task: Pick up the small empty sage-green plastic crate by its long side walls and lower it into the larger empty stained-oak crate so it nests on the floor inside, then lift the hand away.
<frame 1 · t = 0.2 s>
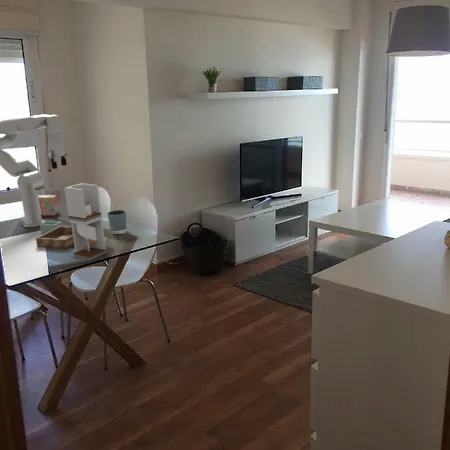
hand: (59, 166, 297), 36 cm above the table, tool pointing down, fingers open, 9 cm apart
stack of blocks: (42, 214, 338), on the table
oak crate: (63, 241, 279), on the table
sage crate: (52, 232, 296), on the table
blue grey cup: (118, 232, 290), on the table
white tiered tower: (90, 255, 256), on the table
coffee can: (39, 206, 358), on the table
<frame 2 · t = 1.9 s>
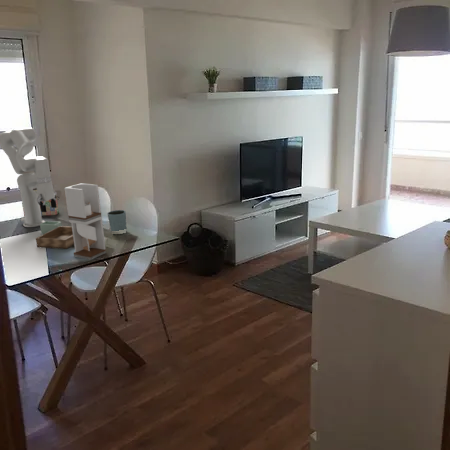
hand: (49, 209, 291), 14 cm above the table, tool pointing down, fingers open, 9 cm apart
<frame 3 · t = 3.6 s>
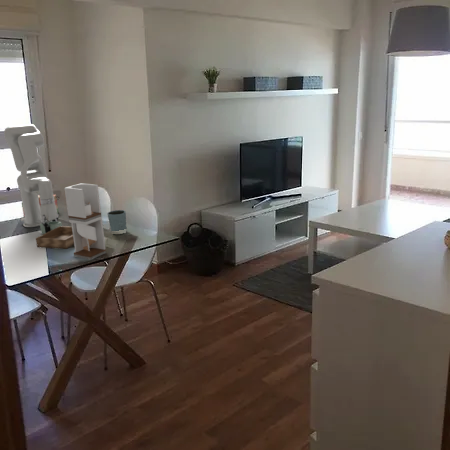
hand: (51, 231, 295), 1 cm above the table, tool pointing down, fingers closed on sage crate, 6 cm apart
sage crate: (52, 232, 295), on the table, touching gripper
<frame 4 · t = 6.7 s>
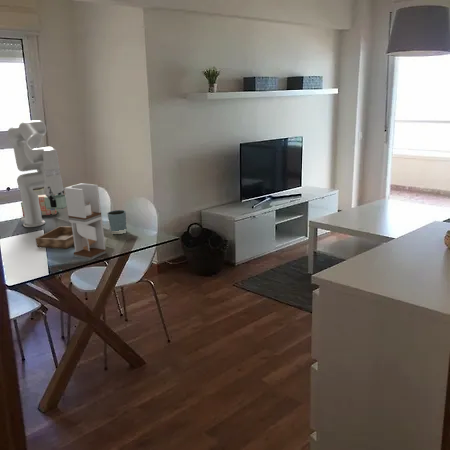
hand: (57, 205, 274), 20 cm above the table, tool pointing down, fingers closed on sage crate, 6 cm apart
sage crate: (57, 207, 275), point 19 cm above the table, touching gripper
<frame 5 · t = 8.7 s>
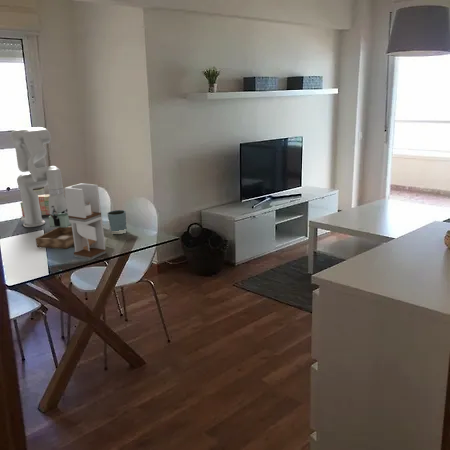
hand: (61, 223, 276), 10 cm above the table, tool pointing down, fingers closed on sage crate, 6 cm apart
sage crate: (61, 225, 276), point 9 cm above the table, touching gripper
when the fingers open (5 cm above the table, at t = 10.3 s): sage crate drops 2 cm, resting on oak crate.
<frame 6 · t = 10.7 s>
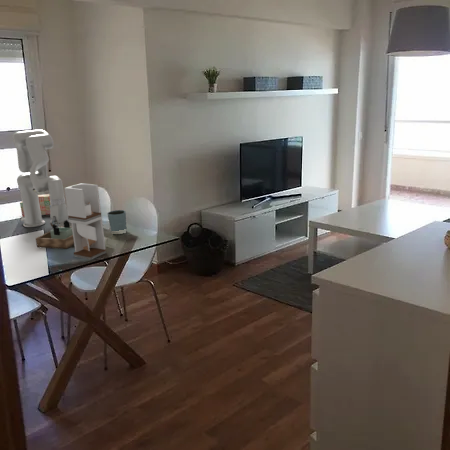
hand: (62, 232, 278), 5 cm above the table, tool pointing down, fingers open, 9 cm apart
sage crate: (63, 239, 279), point 1 cm above the table, touching oak crate
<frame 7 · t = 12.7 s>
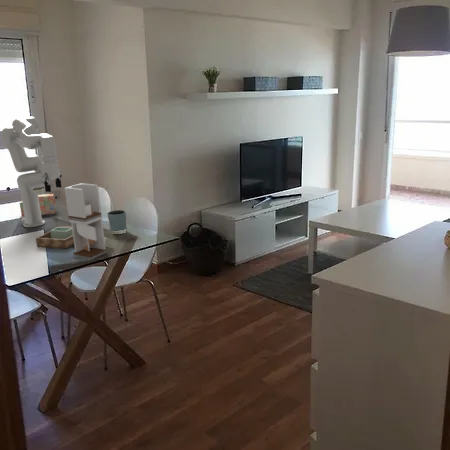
hand: (53, 189, 283), 27 cm above the table, tool pointing down, fingers open, 9 cm apart
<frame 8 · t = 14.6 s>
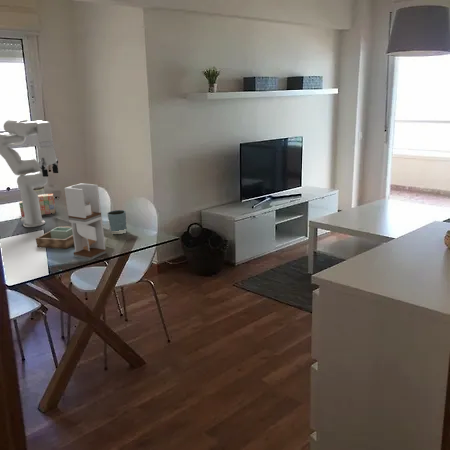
hand: (50, 174, 289), 33 cm above the table, tool pointing down, fingers open, 9 cm apart
at the end: sage crate inside the target area on the oak crate (0.1 cm from its centre), point 1.0 cm above the oak crate's base; sage crate tilted 0°; the gripper is holding nothing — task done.
